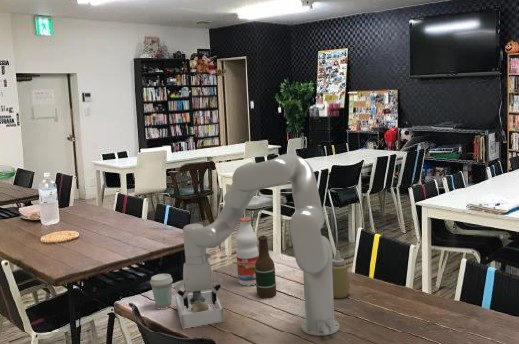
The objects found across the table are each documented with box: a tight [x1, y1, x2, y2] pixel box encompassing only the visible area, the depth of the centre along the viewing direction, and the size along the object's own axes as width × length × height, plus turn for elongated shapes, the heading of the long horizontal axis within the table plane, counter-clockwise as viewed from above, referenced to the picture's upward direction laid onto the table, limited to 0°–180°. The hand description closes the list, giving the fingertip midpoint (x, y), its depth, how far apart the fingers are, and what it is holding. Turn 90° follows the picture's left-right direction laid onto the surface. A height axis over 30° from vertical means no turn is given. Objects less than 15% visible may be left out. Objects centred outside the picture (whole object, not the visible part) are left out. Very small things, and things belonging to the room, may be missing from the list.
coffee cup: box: [149, 273, 174, 309], centre depth 205 cm, size 8×8×12 cm
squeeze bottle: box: [332, 249, 351, 299], centre depth 204 cm, size 8×8×18 cm
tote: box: [175, 290, 225, 328], centre depth 195 cm, size 20×15×5 cm
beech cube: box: [192, 302, 209, 313], centre depth 191 cm, size 5×5×5 cm
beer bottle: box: [255, 235, 277, 300], centre depth 209 cm, size 8×8×24 cm
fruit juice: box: [235, 216, 259, 286], centre depth 225 cm, size 9×9×28 cm
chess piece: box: [190, 291, 205, 311], centre depth 199 cm, size 6×6×12 cm
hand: (200, 305), depth 190 cm, fingers open, 9 cm apart
